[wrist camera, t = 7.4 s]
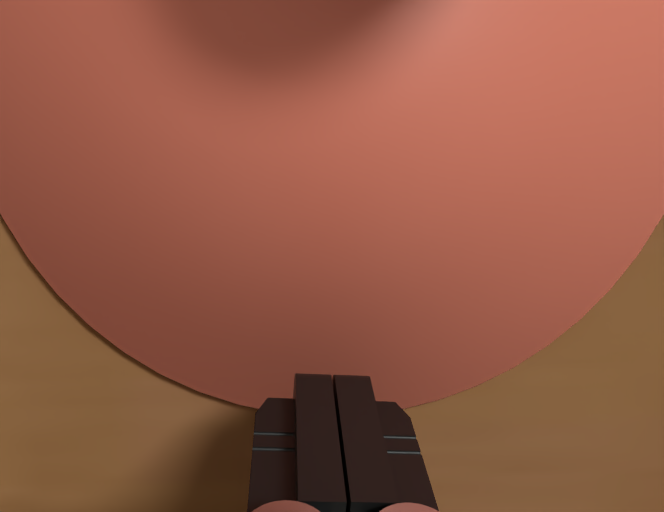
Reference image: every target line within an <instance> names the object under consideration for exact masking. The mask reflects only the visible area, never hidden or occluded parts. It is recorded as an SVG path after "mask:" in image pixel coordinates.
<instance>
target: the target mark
mask: <svg viewBox="0 0 664 512" xmlns="http://www.w3.org/2000/svg"><path fill="white" fill-rule="evenodd" d="M0 214H1V216H2V218H3V219H4V221H5V222H6V224H7V226H8V227H9V229H10V230H11V232H12V234H13V235H14V237H15V238H16V240H17V242H18V243H19V245H20V246H21V248H22V250H23V251H24V253H25V254H26V256H27V257H28V259H29V260H30V261H31V263H32V264H33V265H34V266H35V267H36V269H37V270H38V271H39V272H40V274H41V275H42V276H43V277H44V279H45V280H46V281H47V282H48V284H49V285H50V286H51V287H52V288H53V290H54V291H55V292H56V293H57V295H58V296H59V297H61V298H62V299H63V300H64V301H65V302H66V303H67V304H68V305H69V306H70V307H71V308H72V309H73V310H74V311H75V312H76V313H77V314H78V315H79V316H80V317H81V318H82V319H83V320H84V321H85V322H86V323H87V324H88V325H89V326H90V327H92V328H93V329H94V330H96V331H97V332H98V333H100V334H101V335H102V336H103V337H105V338H106V339H107V340H109V341H110V342H111V343H113V344H114V345H115V346H116V347H118V348H119V349H120V350H122V351H123V352H124V353H126V354H128V355H129V356H131V357H133V358H134V359H136V360H138V361H139V362H141V363H143V364H144V365H146V366H148V367H149V368H151V369H153V370H154V371H156V372H158V373H159V374H161V375H163V376H165V377H168V378H170V379H172V380H174V381H176V382H179V383H181V384H183V385H185V386H187V387H190V388H192V389H194V390H196V391H198V392H201V393H204V394H207V395H210V396H213V397H217V398H220V399H223V400H226V401H229V402H232V403H235V404H238V405H243V406H248V407H253V408H258V409H259V408H260V407H261V406H262V404H263V403H264V402H265V400H266V399H267V398H293V390H294V378H295V373H302V374H329V375H331V377H332V378H333V375H359V376H370V379H371V383H372V387H373V392H374V396H375V400H376V401H387V402H396V403H397V404H398V405H399V406H400V407H401V409H405V408H409V407H413V406H417V405H421V404H425V403H429V402H433V401H437V400H440V399H443V398H445V397H448V396H451V395H454V394H456V393H459V392H462V391H464V390H467V389H470V388H473V387H475V386H477V385H479V384H481V383H484V382H486V381H488V380H490V379H492V378H494V377H496V376H498V375H500V374H502V373H504V372H506V371H508V370H510V369H512V368H513V367H515V366H517V365H518V364H520V363H521V362H523V361H524V360H526V359H528V358H529V357H531V356H532V355H534V354H535V353H537V352H538V351H540V350H542V349H543V348H545V347H546V346H548V345H549V344H550V343H551V342H553V341H554V340H555V339H556V338H558V337H559V336H560V335H561V334H563V333H564V332H565V331H566V330H568V329H569V328H570V327H571V326H573V325H574V324H575V323H576V322H578V321H579V320H580V319H581V318H582V317H583V316H584V315H585V314H586V313H587V312H588V311H589V310H590V309H591V308H592V307H593V306H594V305H595V304H596V303H597V302H598V301H599V300H600V299H601V298H602V297H603V296H604V295H605V294H606V293H607V292H608V291H609V290H610V289H611V288H612V287H613V285H614V284H615V283H616V282H617V280H618V279H619V278H620V277H621V275H622V274H623V273H624V272H625V270H626V269H627V268H628V267H629V265H630V264H631V263H632V262H633V260H634V259H635V258H636V257H637V255H638V254H639V253H640V251H641V249H642V248H643V246H644V245H645V243H646V242H647V240H648V238H649V237H650V235H651V234H652V232H653V230H654V229H655V227H656V226H657V224H658V223H659V221H660V219H661V218H662V216H663V214H664V0H0Z"/></svg>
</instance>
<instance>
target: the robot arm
mask: <svg viewBox="0 0 664 512" xmlns="http://www.w3.org/2000/svg"><path fill="white" fill-rule="evenodd" d="M247 512H439V510H438V507H437V504H436V500H435V497H434V494H433V490H432V487H431V484H430V481H429V477H428V474H427V471H426V468H425V464H424V461H423V458H422V455H420V448H419V445H418V442H417V440H416V435H415V432H414V428H413V425H412V422H411V419H410V417H409V416H408V415H407V414H406V413H405V412H404V411H403V410H402V409H401V407H400V406H399V405H398V404H397V403H396V402H387V401H376V400H375V396H374V392H373V387H372V383H371V379H370V376H359V375H333V378H332V377H331V375H329V374H302V373H295V378H294V390H293V398H267V399H266V400H265V402H264V403H263V404H262V406H261V407H260V408H259V409H258V411H257V412H256V414H255V426H254V438H253V451H252V462H251V474H250V486H249V498H248V509H247Z"/></svg>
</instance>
